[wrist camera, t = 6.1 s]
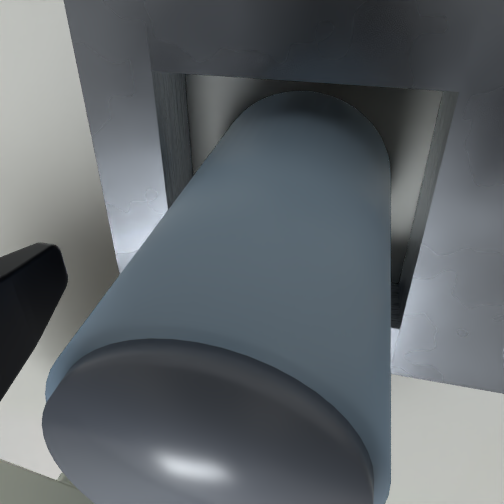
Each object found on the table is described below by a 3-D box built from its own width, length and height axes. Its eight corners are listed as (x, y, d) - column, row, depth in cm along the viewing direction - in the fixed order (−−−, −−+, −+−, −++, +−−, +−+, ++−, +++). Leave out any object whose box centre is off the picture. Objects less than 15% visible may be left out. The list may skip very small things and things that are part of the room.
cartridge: (406, 97, 12) (432, 402, 4) (375, 258, 14) (361, 604, 7) (215, 84, 12) (-24, 319, 5) (221, 237, 15) (72, 527, 8)
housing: (1091, -12, 8) (1263, 7, 6) (737, 381, 14) (782, 442, 12) (104, -34, 11) (58, -26, 10) (154, 289, 17) (130, 328, 16)
